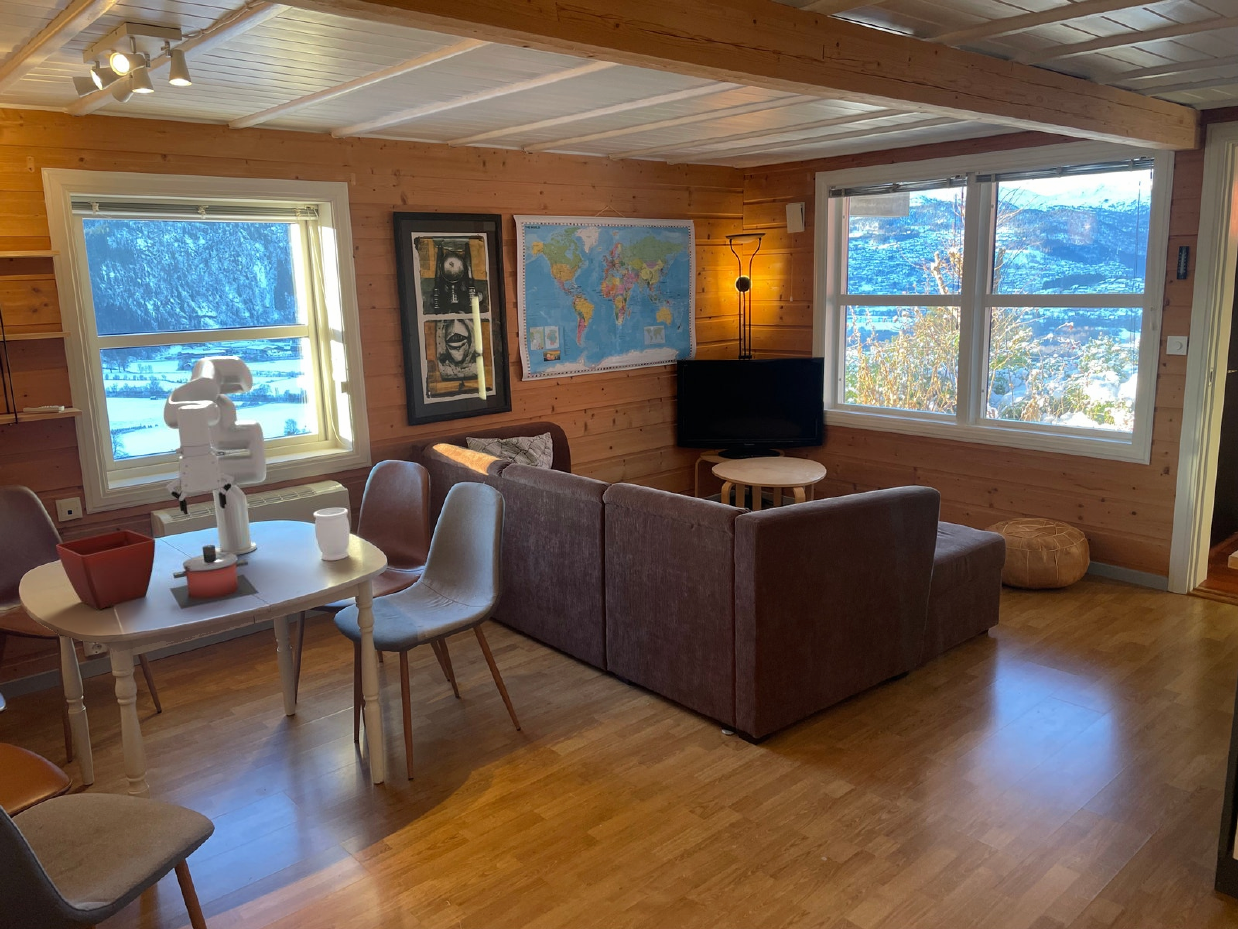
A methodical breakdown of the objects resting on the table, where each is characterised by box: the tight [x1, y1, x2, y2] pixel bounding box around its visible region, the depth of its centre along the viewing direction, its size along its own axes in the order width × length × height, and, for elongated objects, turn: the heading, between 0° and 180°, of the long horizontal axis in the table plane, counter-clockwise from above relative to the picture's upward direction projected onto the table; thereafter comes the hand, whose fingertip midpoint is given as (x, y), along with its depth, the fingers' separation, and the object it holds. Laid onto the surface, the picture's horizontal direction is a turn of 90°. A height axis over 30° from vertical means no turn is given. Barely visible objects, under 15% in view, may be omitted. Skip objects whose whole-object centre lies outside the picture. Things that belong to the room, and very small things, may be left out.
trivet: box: [169, 574, 259, 610], centre depth 257 cm, size 20×20×1 cm
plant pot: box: [55, 529, 156, 610], centre depth 252 cm, size 19×19×17 cm
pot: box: [172, 559, 249, 599], centre depth 256 cm, size 13×19×8 cm
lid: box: [182, 544, 238, 572], centre depth 255 cm, size 14×14×5 cm
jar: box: [313, 507, 351, 561], centre depth 286 cm, size 11×10×15 cm
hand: (204, 510), depth 252 cm, fingers open, 9 cm apart
